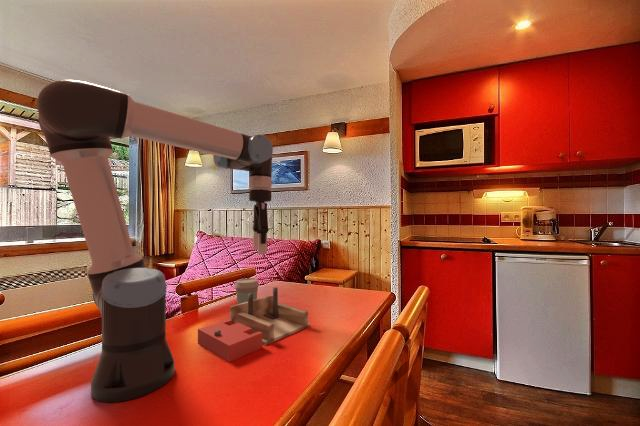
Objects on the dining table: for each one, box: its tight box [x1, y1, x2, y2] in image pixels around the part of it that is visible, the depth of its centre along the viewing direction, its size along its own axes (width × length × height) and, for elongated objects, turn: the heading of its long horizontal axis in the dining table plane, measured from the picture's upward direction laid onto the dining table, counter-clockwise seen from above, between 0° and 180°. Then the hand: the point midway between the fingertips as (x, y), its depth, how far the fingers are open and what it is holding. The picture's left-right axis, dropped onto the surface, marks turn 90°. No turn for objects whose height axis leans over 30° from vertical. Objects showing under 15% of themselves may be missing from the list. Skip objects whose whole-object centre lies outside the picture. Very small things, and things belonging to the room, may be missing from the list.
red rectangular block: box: [197, 318, 263, 363], centre depth 79 cm, size 16×10×5 cm, turn 49°
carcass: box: [229, 286, 311, 346], centre depth 92 cm, size 18×18×11 cm
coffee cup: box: [234, 277, 260, 304], centre depth 105 cm, size 8×8×12 cm
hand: (259, 251), depth 99 cm, fingers open, 13 cm apart
